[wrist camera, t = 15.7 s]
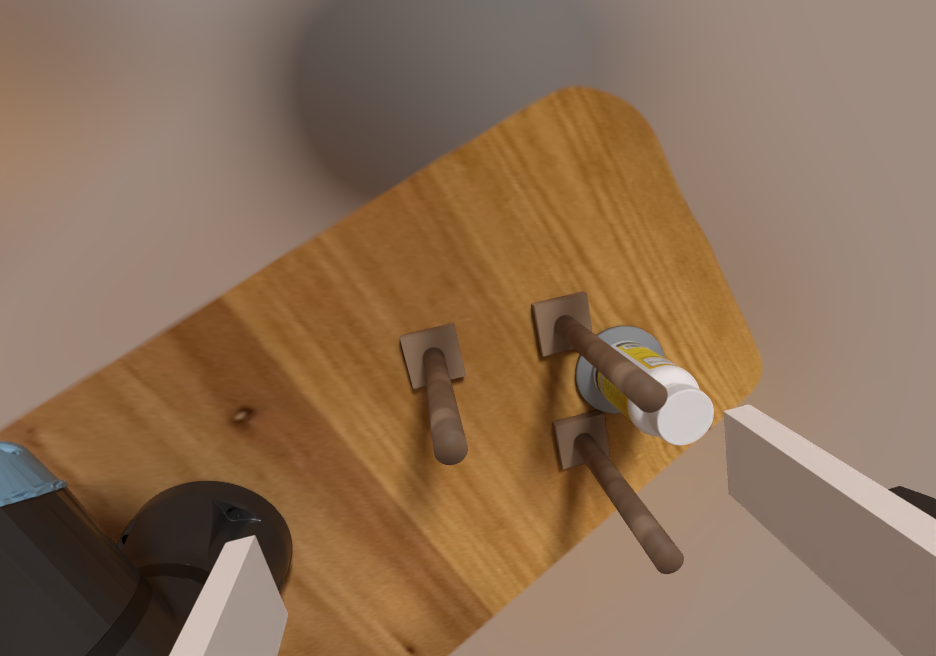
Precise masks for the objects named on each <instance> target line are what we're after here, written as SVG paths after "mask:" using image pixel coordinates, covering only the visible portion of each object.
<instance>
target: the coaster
mask: <svg viewBox="0 0 936 656" xmlns="http://www.w3.org/2000/svg"><path fill="white" fill-rule="evenodd" d="M596 336H598V337H599V338H600V339H602V340H603V341H605V342H606V343H607V344H609V345H612V344H614V343H617V342H621V341H633V342H637V343H639V344H641V345H643V346H645V347H647V348H649V349H650V350H652V351H654V352H655V353H657V354H659V355H660V356H662V357H664V353H663V350H662V348H661V346H660V344H659V343H658V341H657V340H656V339H655V338H654V337H653V336H652V335H650V334H649V333H647V332H646V331H644V330H642V329H640V328H637V327H633V326H616V327H612V328H609V329H606V330H604V331H602V332H600V333H599V334H597V335H596ZM664 358H665V357H664ZM593 372H594V367H593V366H592V365H591V364H590V363H589V362H588V361H587V360H586V359H585V358H584V357H583V356H581V355H580V356H579V358H578V361H577V364H576V371H575V377H576V383H577V387H578V389H579V392H580V393H581V395H582V396H583V398H584V399H585V400H586V401H587V402H588V403H589V404H590V405H591V406H593V407H594V408H596V409H598V410H600V411H603V412H606V413H614V414H617V413H621V412H620V411H619V410H618V409H617V408H616V407H615V406H613V405H612V404H611V403H610V402H609V401H608V400H607V399H606V398H605V397H604V396H603V395H602V394H601V393H600V392H599V390H598V389H597V387H596V385H595V382H594V377H593Z"/></svg>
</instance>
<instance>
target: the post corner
mask: <svg viewBox="0 0 936 656" xmlns="http://www.w3.org/2000/svg"><path fill="white" fill-rule="evenodd" d="M532 309H533V315H534V320H535V326H536V331H537V337H538V342H539V348H540V353H541V354H542V356H543V357H544V356H548V355H552V354H556V353H560V352H564V351H568V350H572V349H575V350H576V351H577V352H578V353H579V354H580V355H581V356H583V357H584V358H585V359H586V360H587V361H588V362H589V363H590V364H591V365H592V366H593V367H595V368H596V369H597V370H598V371H599V372H600V373H601V374H602V375H603V376H604V377H605V378H606V379H608V380H609V381H610V382H611V383H612V384H613V385H614V386H615V387H616V388H617V389H618V390H620V391H621V392H622V393H623V394H624V395H625V396H626V397H627V398H628V399H629V400H630V401H632V402H633V403H634V404H635V405H636V406H637V407H638V408H639V409H640V410H642V411H643V412H646V413H653V412H656V411H658V410H660V409H661V408H662V407H663V406H664V405H665V403H666V401H667V397H668V393H667V390H666V388H665V386H664V385H662V384H661V383H660V382H658V381H657V380H656V379H654V378H653V377H651V376H650V375H649V374H647V373H646V372H645V371H643V370H642V369H641V368H639V367H638V366H637V365H635V364H634V363H633V362H631V361H630V360H629V359H627V358H626V357H625V356H623V355H622V354H621V353H619V352H618V351H617V350H615V349H614V348H613V347H611V346H610V345H609V344H607V343H606V342H605V341H603V340H602V339H600V338H599V337H598V336H596V335H595V334H594V333H592V326H591V319H590V313H589V306H588V299H587V293H585V292H583V291H582V292H578V293H574V294H570V295H566V296H562V297H558V298H553V299H549V300H545V301H541V302H537V303H533V304H532Z"/></svg>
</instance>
